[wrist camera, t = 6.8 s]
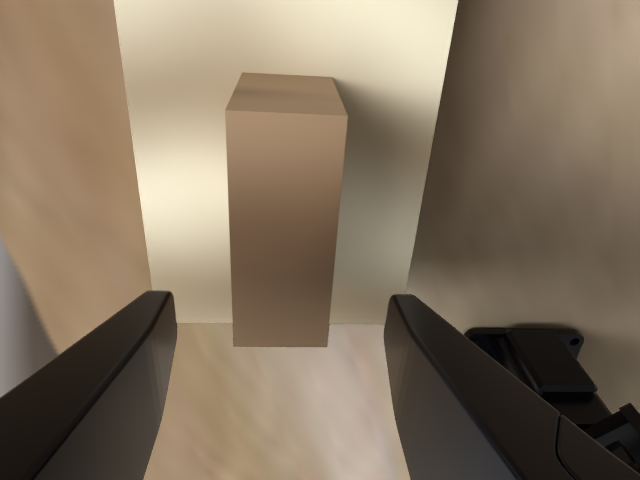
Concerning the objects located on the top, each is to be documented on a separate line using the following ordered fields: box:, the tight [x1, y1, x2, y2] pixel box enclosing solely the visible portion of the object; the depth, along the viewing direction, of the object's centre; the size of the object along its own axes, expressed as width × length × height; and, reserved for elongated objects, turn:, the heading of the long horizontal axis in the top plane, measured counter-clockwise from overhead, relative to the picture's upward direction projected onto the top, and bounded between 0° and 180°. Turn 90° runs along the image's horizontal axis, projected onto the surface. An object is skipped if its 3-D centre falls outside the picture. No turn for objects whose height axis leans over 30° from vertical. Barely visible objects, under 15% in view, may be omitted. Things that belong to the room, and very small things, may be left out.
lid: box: [114, 0, 458, 347], centre depth 12 cm, size 17×9×6 cm, turn 176°
